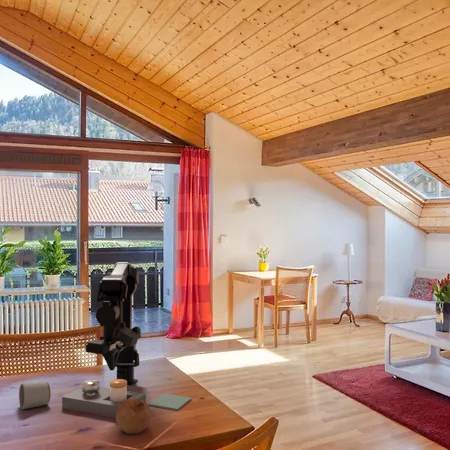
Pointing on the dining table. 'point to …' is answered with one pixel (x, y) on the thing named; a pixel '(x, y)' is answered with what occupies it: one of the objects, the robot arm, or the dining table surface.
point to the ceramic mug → (34, 394)
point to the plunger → (90, 387)
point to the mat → (170, 402)
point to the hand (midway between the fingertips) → (112, 370)
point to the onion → (133, 416)
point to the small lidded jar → (118, 390)
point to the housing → (96, 402)
